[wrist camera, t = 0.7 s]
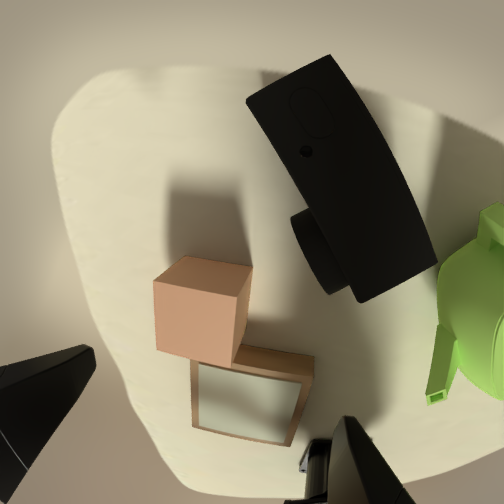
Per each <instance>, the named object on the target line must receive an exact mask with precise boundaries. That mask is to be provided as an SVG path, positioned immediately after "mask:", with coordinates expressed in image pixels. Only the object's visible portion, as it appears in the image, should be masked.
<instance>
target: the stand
mask: <svg viewBox="0 0 504 504" xmlns="http://www.w3.org/2000/svg"><path fill="white" fill-rule="evenodd" d="M190 370H191V408H192V427H195V428H198V429H202V430H206V431H210V432H214V433H218V434H222V435H226V436H231V437H235V438H240V439H245V440H250V441H255V442H261V443H266V444H273V445H279V446H286V447H290V446H291V443H292V441H293V438H294V435H295V432H296V429H297V427H298V424H299V421H300V418H301V415H302V412H303V409H304V406H305V403H306V400H307V397H308V394H309V390H310V387H311V384H312V381H313V378H314V357H313V356H306V355H299V354H293V353H287V352H280V351H274V350H269V349H263V348H257V347H252V346H247V345H242V344H240V345H239V348H238V350H237V353H236V356H235V358H234V361H233V363H232V366H231V368H226V367H222V366H217V365H213V364H209V363H205V362H200V361H196V360H192V359H190Z"/></svg>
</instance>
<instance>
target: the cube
mask: <svg viewBox="0 0 504 504" xmlns="http://www.w3.org/2000/svg"><path fill="white" fill-rule="evenodd" d="M252 272H253V267H249V266H243V265H237V264H231V263H225V262H219V261H213V260H207V259H201V258H196V257H190V256H184V257H183V258H181V259H180V260H179V261H178V262H176V263H175V264H174V265H172V266H171V267H170V268H169V269H167V270H166V271H165V272H164V273H162V274H161V275H160V276H159V277H157V278H156V279H155V280H153V291H154V315H155V332H156V346H157V350H159V351H163V352H166V353H170V354H173V355H177V356H181V357H185V358H188V359H192V360H196V361H200V362H205V363H209V364H213V365H217V366H222V367H226V368H231V366H232V363H233V361H234V358H235V356H236V353H237V350H238V348H239V345H240V343H241V340H242V338H243V335H244V333H245V330H246V324H247V316H248V307H249V298H250V289H251V281H252Z"/></svg>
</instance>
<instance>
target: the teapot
mask: <svg viewBox="0 0 504 504" xmlns="http://www.w3.org/2000/svg"><path fill="white" fill-rule="evenodd" d="M437 308H438V319H439V325H437V331H436V338H435V345H434V352H433V358H432V364H431V369H430V374H429V379H428V384H427V389H426V393H425V394H426V399H427V404H428V406H429V405H432V404H434V403H437V402H440V401H443V400H445V399H447V394H448V392H449V389H450V386H451V384H452V381H453V379H454V376H455V373H456V370H457V367H458V368H459V369H460V371H461V372H462V373H463V374H464V376H465V377H466V378H467V379H468V380H469V381H470V382H472V383H473V384H474V385H475V386H477V387H478V388H479V389H481V390H482V391H484V392H485V393H487V394H489V395H490V396H492V397H494V398H496V399H498V400H504V205H503V204H501V203H499V202H496V203H494V204H493V205H491V206H489V207H487V208H486V209H484V210H482V211H480V216H479V224H478V232H477V238H475V239H474V240H472V241H471V242H469V243H468V244H466V245H465V246H463V247H462V248H460V249H459V250H457V251H456V252H455V253H453V254H452V255H451V256H450V257H448V258H447V259H446V260H445V262H444V263H443V264H442V266H441V268H440V271H439V274H438V279H437Z"/></svg>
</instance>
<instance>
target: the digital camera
mask: <svg viewBox="0 0 504 504" xmlns="http://www.w3.org/2000/svg"><path fill="white" fill-rule="evenodd" d="M246 104H247V106H248V108H249V109H250V111H251V112H252V114H253V115H254V117H255V118H256V120H257V121H258V123H259V125H260V126H261V128H262V129H263V131H264V133H265V134H266V136H267V137H268V139H269V141H270V142H271V144H272V145H273V147H274V149H275V150H276V152H277V154H278V155H279V157H280V159H281V160H282V162H283V164H284V165H285V167H286V169H287V170H288V172H289V174H290V175H291V177H292V179H293V181H294V182H295V184H296V186H297V188H298V189H299V191H300V193H301V195H302V196H303V198H304V200H305V202H306V203H307V205H308V207H309V208H307V209H305V210H303V211H301V212H300V213H298V214H296V215H294V216H292V217H291V218H290V220H291V225H292V228H293V231H294V233H295V236H296V238H297V241H298V243H299V245H300V247H301V250H302V252H303V254H304V256H305V258H306V260H307V262H308V264H309V266H310V268H311V270H312V271H313V273H314V275H315V277H316V278H317V280H318V282H319V283H320V285H321V286H322V288H323V289H324V291H325V292H326V293H327V294H328V295H331V294H333V293H335V292H337V291H339V290H341V289H343V288H345V287H347V286H348V285H350V287H351V290H352V292H353V294H354V296H355V298H356V300H357V302H359V303H364V302H366V301H368V300H370V299H372V298H374V297H376V296H378V295H380V294H382V293H384V292H386V291H388V290H390V289H391V288H393V287H395V286H397V285H399V284H401V283H403V282H405V281H406V280H408V279H410V278H412V277H414V276H416V275H417V274H419V273H421V272H423V271H425V270H426V269H428V268H430V267H432V266H434V265H435V264H436V263H437V262H438V261H437V258H436V255H435V252H434V249H433V247H432V244H431V241H430V238H429V235H428V233H427V230H426V227H425V225H424V222H423V220H422V217H421V215H420V212H419V210H418V207H417V205H416V203H415V200H414V198H413V196H412V193H411V191H410V189H409V187H408V185H407V182H406V180H405V178H404V176H403V174H402V172H401V170H400V168H399V166H398V164H397V162H396V160H395V158H394V156H393V154H392V152H391V150H390V148H389V146H388V144H387V142H386V141H385V139H384V137H383V135H382V133H381V131H380V130H379V128H378V126H377V124H376V123H375V121H374V119H373V118H372V116H371V114H370V113H369V111H368V109H367V108H366V106H365V104H364V103H363V101H362V100H361V98H360V96H359V95H358V93H357V92H356V90H355V89H354V87H353V86H352V84H351V83H350V81H349V80H348V79H347V77H346V75H345V74H344V73H343V71H342V70H341V69H340V67H339V65H338V64H337V63H336V61H335V60H334V59H333V57H332V56H331V55H330V54H329V55H326V56H324V57H322V58H320V59H318V60H316V61H314V62H312V63H310V64H308V65H306V66H304V67H302V68H300V69H298V70H296V71H294V72H292V73H290V74H288V75H286V76H284V77H283V78H281V79H279V80H277V81H275V82H273V83H272V84H270V85H268V86H266V87H265V88H263V89H261V90H259V91H258V92H256V93H254V94H253V95H251V96H249V97H248V98H247V99H246Z"/></svg>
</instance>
